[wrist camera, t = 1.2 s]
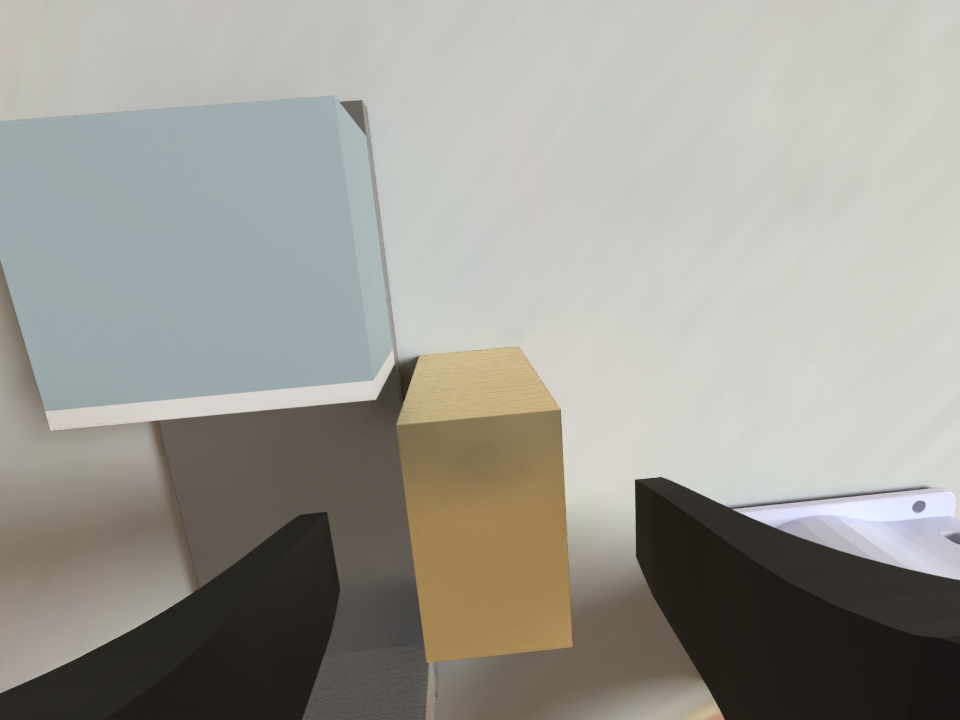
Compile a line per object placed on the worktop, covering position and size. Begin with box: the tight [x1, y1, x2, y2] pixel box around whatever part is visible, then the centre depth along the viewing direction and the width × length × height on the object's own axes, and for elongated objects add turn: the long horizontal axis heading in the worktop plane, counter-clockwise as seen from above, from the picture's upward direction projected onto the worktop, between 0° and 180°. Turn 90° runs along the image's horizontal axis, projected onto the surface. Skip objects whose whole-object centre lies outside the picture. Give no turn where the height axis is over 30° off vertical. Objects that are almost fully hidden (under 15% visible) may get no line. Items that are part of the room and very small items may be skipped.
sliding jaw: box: [0, 96, 395, 431], centre depth 13 cm, size 8×7×4 cm
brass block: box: [396, 347, 573, 663], centre depth 15 cm, size 4×6×7 cm, turn 5°
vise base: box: [158, 100, 438, 720], centre depth 15 cm, size 8×22×5 cm, turn 5°
